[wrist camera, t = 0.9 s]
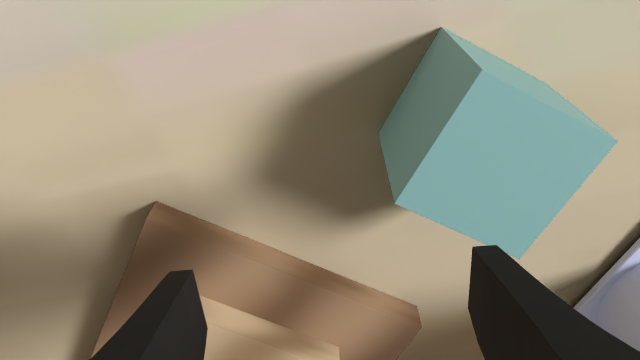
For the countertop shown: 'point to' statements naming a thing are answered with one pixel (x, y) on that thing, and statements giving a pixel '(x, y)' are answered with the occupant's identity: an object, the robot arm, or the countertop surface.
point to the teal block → (486, 146)
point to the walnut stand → (261, 297)
